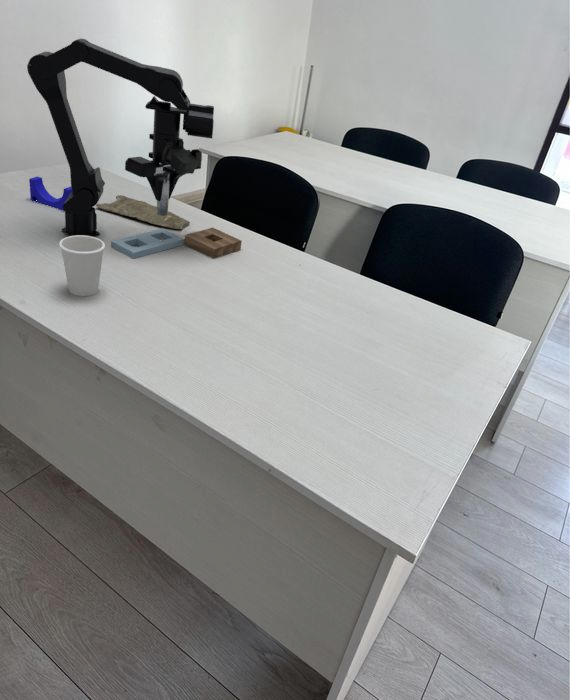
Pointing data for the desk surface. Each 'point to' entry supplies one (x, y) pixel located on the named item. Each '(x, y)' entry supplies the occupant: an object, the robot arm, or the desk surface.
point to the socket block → (212, 242)
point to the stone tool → (143, 212)
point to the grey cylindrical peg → (164, 196)
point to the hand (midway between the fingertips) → (162, 199)
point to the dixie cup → (82, 263)
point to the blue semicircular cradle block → (46, 194)
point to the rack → (147, 243)
